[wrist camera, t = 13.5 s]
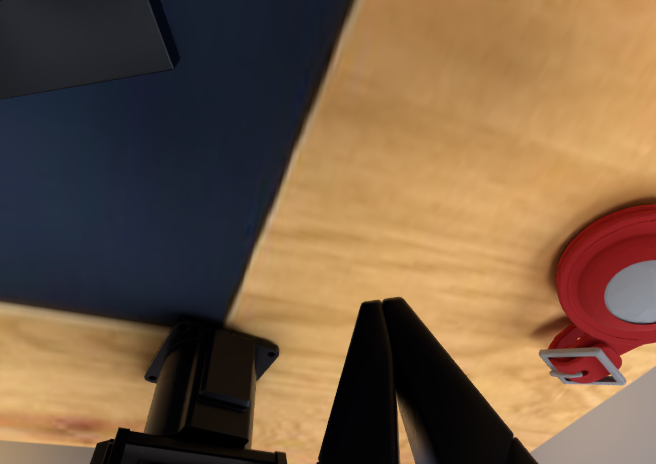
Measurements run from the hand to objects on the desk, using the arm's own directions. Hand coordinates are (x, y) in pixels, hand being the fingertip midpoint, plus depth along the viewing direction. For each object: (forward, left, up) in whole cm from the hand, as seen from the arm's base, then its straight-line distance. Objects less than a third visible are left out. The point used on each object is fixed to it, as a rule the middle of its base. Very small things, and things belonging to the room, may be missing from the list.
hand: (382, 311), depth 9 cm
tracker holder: (-1, -19, -11) cm, 22 cm away
